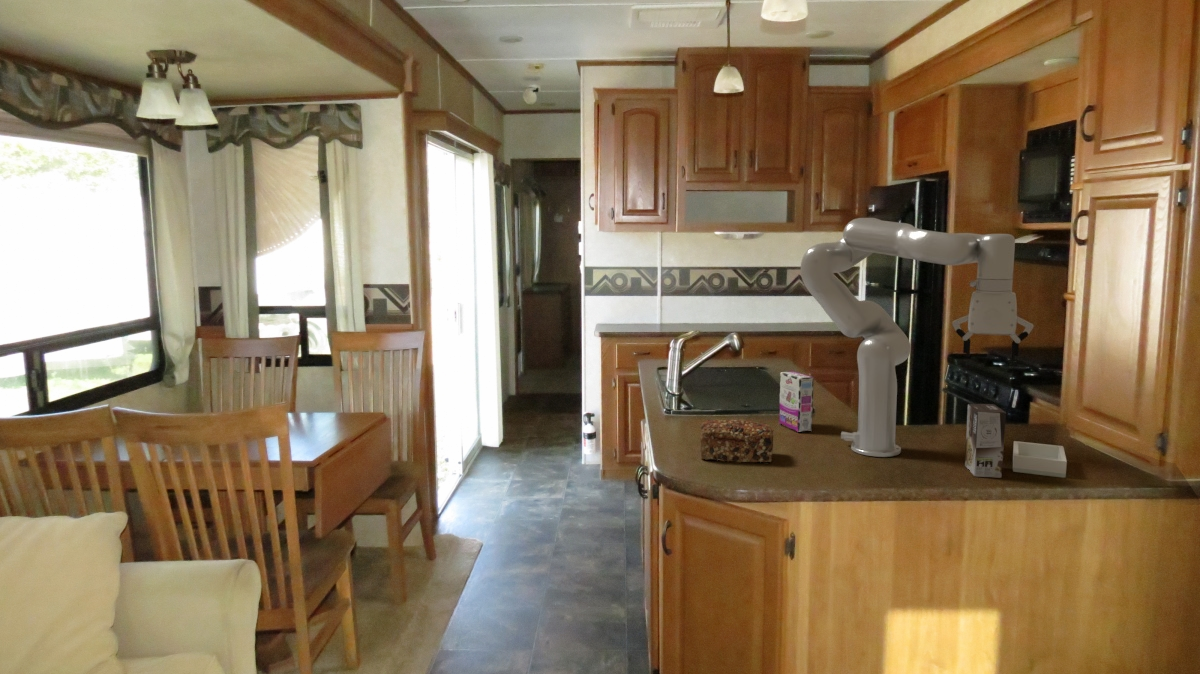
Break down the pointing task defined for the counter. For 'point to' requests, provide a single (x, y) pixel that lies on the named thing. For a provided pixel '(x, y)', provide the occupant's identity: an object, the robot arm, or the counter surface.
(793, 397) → the candy bar box
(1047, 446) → the holder
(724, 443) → the bread
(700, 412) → the counter surface
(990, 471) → the coffee box
